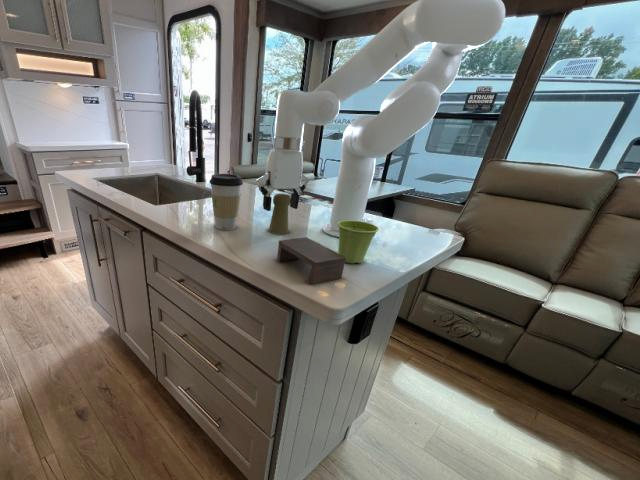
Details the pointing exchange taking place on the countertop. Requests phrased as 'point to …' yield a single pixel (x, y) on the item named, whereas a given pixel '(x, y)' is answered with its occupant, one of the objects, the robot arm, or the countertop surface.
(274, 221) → the olive pawn figure
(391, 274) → the countertop surface
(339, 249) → the plant pot
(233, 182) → the coffee cup
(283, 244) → the shelf
